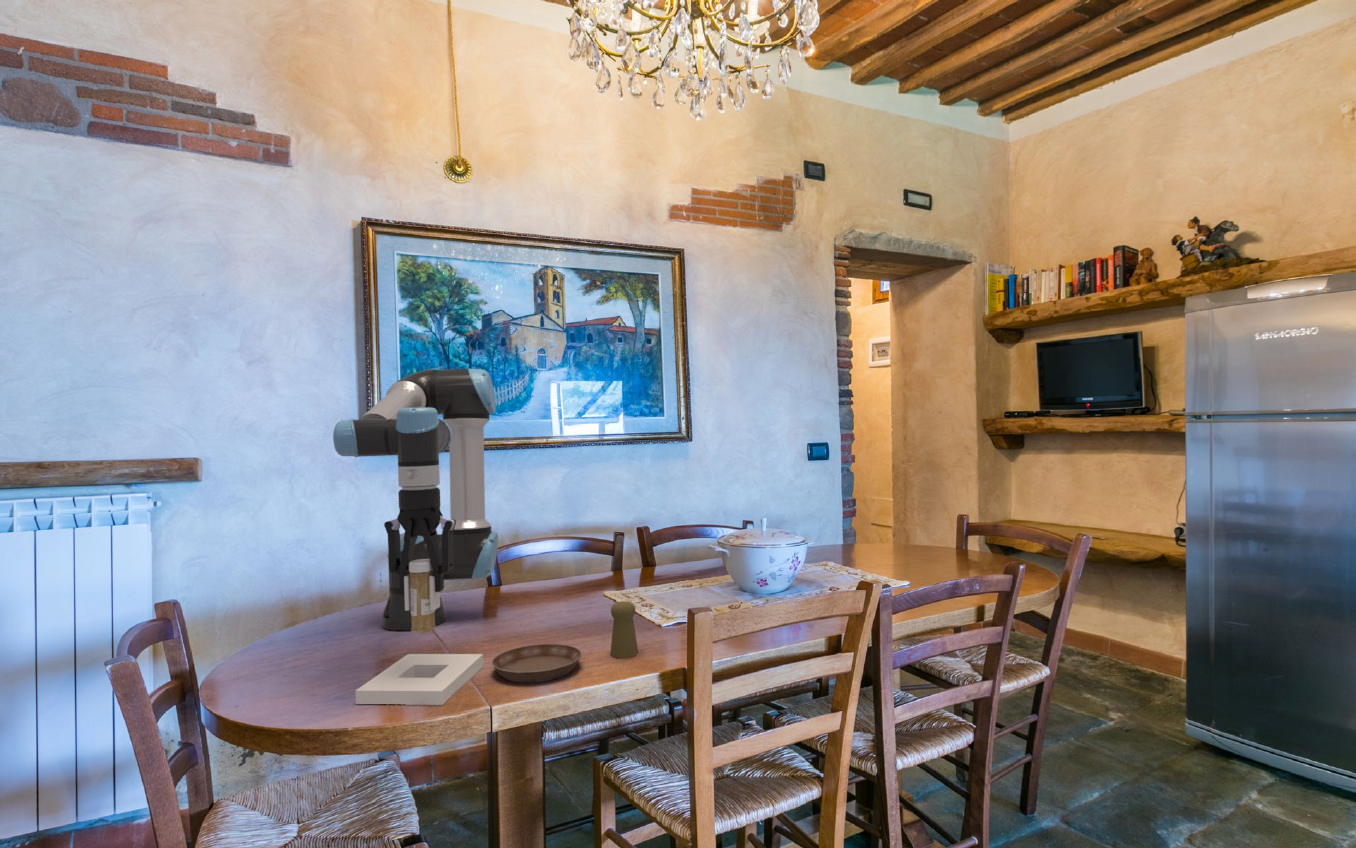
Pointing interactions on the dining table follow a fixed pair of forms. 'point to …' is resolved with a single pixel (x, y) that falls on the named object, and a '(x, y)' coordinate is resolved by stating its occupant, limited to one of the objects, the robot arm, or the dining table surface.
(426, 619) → the sprinkles bottle
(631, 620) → the pepper mill
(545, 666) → the plant saucer
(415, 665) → the white board with recess
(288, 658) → the dining table surface
